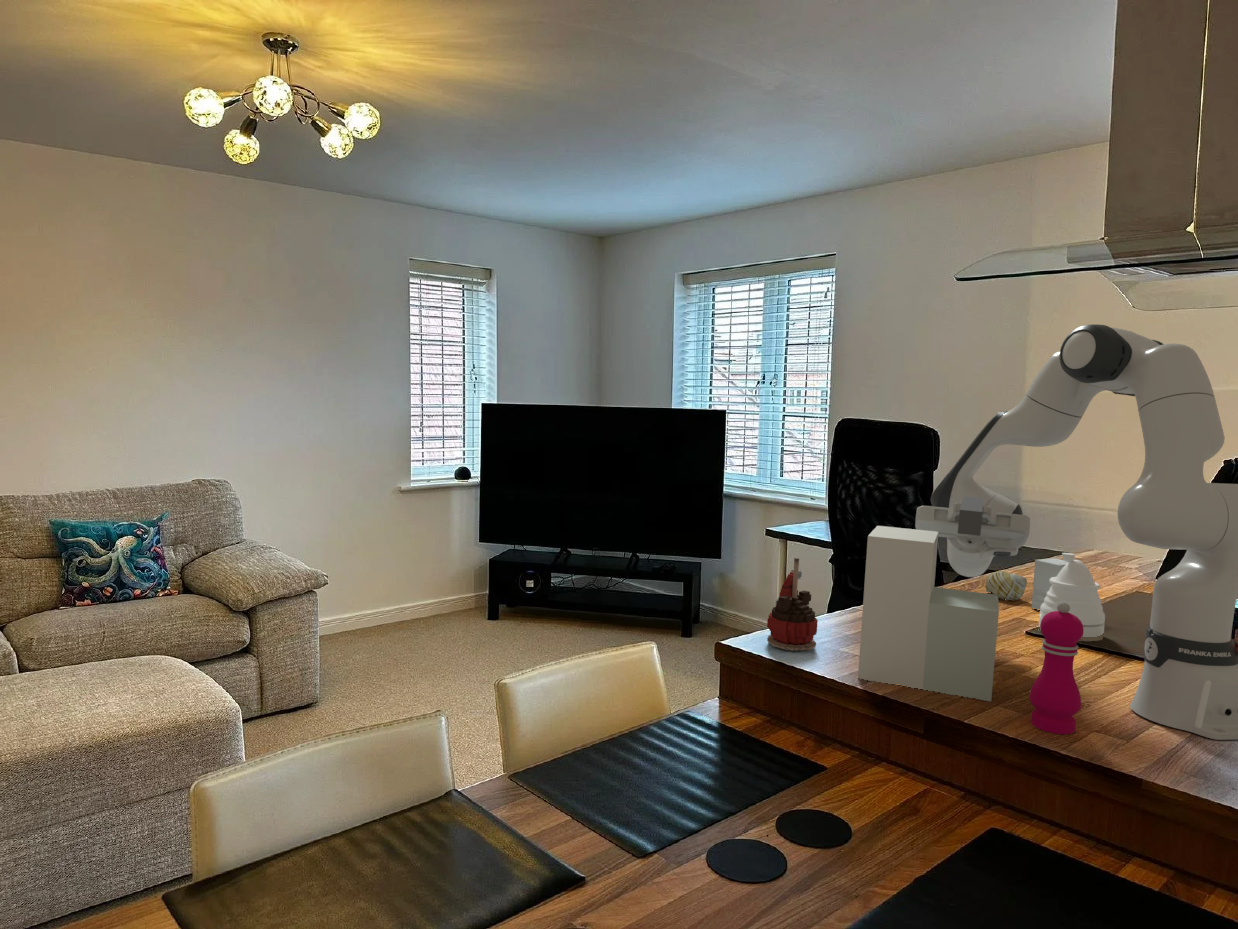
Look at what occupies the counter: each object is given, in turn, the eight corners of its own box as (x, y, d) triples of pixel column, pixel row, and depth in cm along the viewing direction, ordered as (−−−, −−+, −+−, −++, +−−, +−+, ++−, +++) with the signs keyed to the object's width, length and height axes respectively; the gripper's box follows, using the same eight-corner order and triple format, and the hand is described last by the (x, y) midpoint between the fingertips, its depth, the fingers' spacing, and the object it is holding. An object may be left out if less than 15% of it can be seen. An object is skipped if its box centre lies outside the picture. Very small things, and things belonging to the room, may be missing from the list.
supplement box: (1077, 614, 207) (1082, 563, 206) (1054, 616, 204) (1059, 565, 203) (1051, 607, 214) (1056, 557, 213) (1029, 608, 211) (1034, 558, 210)
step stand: (868, 657, 165) (877, 525, 163) (991, 677, 156) (1002, 538, 154) (857, 678, 152) (867, 535, 150) (991, 701, 143) (1004, 550, 141)
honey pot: (1054, 640, 183) (1062, 558, 182) (1028, 624, 196) (1034, 547, 194) (1115, 643, 183) (1123, 561, 181) (1084, 627, 196) (1091, 550, 194)
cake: (796, 657, 163) (802, 565, 162) (756, 645, 170) (761, 557, 168) (825, 647, 171) (831, 559, 169) (786, 636, 177) (791, 551, 176)
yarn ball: (986, 588, 230) (1007, 558, 226) (1017, 611, 224) (1039, 581, 220) (971, 591, 222) (992, 560, 219) (1003, 615, 217) (1025, 584, 213)
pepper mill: (1085, 738, 129) (1097, 610, 127) (1034, 733, 131) (1045, 605, 129) (1070, 721, 136) (1081, 598, 134) (1022, 715, 138) (1032, 594, 136)
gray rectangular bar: (961, 517, 162) (963, 496, 162) (981, 519, 161) (983, 498, 160) (957, 533, 142) (959, 509, 142) (980, 535, 141) (982, 511, 140)
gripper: (917, 515, 174) (915, 487, 162) (1027, 526, 166) (1033, 497, 154) (913, 544, 171) (911, 518, 160) (1025, 556, 163) (1031, 529, 152)
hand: (972, 508), depth 157 cm, fingers closed on gray rectangular bar, 3 cm apart
